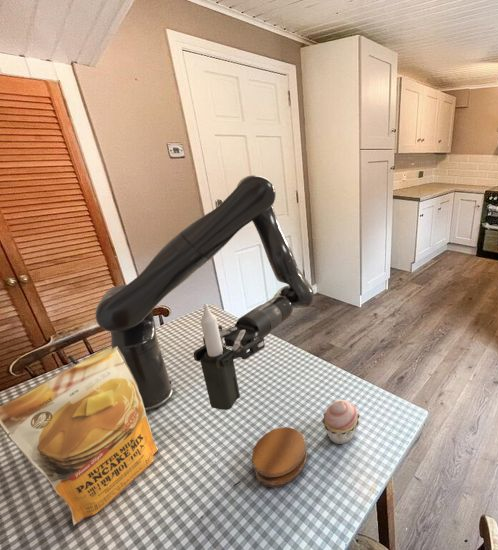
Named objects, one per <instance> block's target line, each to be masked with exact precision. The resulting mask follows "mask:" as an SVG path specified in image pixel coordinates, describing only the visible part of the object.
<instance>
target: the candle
mask: <svg viewBox="0 0 498 550" xmlns="http://www.w3.org/2000/svg"><path fill="white" fill-rule="evenodd" d="M202 307H203V314H202V317H201V319H200V324H201V329H202V333H203V338H204V339H205V343H206V348H207V352H205V353H204V356H203V357H202V358H201V359H200V361H199V362H200V365H201V371H202V375H203V378H204V383H205V387H206V391H207V395H208V400H209V404H210V407H211V408H212V409H215V410H222V411H228V410H230V409H232V408H233V405H234V404H235V403H236V402H237V400H239V399H240V397H241V394H240V388H239V383H238V378H237V377H238V376H237V372H236V367H235V361H234V360H232V361H231V362H230V363H229V364H227V365H226V366H224V367H222V368H221V369H220V368H217V366H216V359H217V358H219V357H220V356H221V355H223V354H224V353H225V352H227V351H228V350H231V348H228V347H227V348H226V347H223V346H222V343H221V338H220V333H219V328H218V326H219V323H218V318H217V316H216V315H214V314H213V313H212V311H211V310H210V308H209V304H207V303H205V304H203V306H202Z"/></svg>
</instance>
